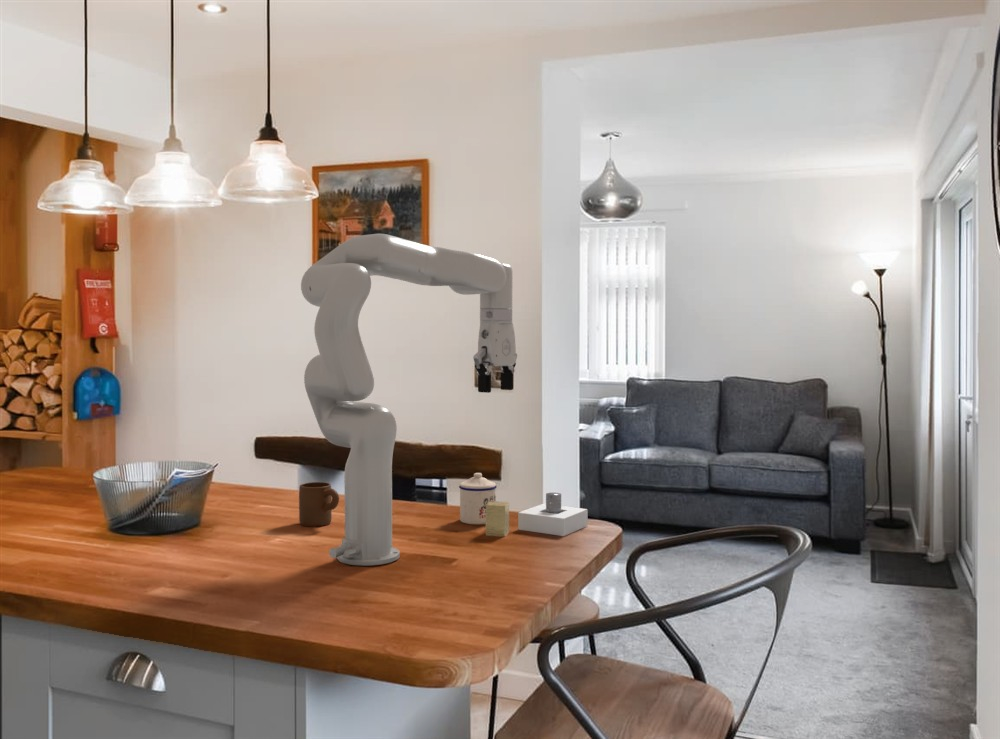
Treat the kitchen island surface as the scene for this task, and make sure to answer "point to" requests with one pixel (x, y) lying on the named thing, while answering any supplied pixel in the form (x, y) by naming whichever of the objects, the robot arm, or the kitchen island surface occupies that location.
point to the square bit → (497, 518)
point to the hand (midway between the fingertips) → (495, 390)
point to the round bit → (553, 503)
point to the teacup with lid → (476, 499)
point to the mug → (316, 503)
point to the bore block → (552, 520)
